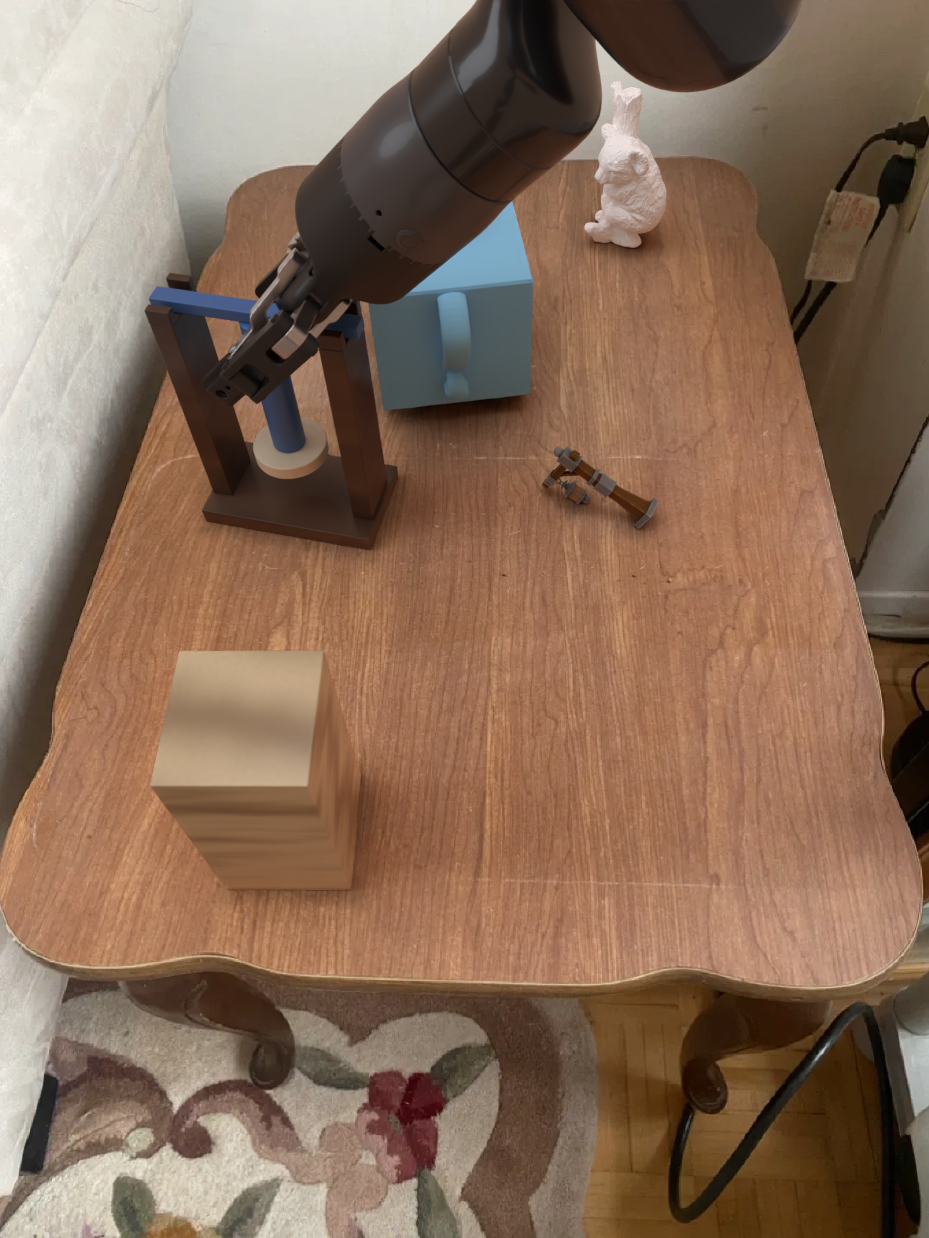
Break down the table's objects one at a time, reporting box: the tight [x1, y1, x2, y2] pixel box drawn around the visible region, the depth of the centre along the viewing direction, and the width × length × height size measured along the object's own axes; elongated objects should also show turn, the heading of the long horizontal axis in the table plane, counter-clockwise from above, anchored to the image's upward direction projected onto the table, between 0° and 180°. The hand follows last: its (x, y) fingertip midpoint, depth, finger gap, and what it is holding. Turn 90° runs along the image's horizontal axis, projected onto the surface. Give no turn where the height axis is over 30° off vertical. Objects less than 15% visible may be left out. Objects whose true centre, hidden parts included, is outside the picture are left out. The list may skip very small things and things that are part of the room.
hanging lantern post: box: [541, 445, 660, 530], centre depth 67 cm, size 2×8×4 cm, turn 65°
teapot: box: [367, 201, 534, 411], centre depth 72 cm, size 22×11×14 cm, turn 7°
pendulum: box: [148, 285, 366, 479], centre depth 60 cm, size 5×13×12 cm, turn 75°
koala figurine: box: [583, 80, 668, 249], centre depth 80 cm, size 8×7×12 cm
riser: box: [149, 649, 362, 891], centre depth 49 cm, size 7×7×14 cm
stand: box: [144, 272, 399, 551], centre depth 62 cm, size 7×12×17 cm, turn 76°
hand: (242, 345), depth 58 cm, fingers open, 8 cm apart
